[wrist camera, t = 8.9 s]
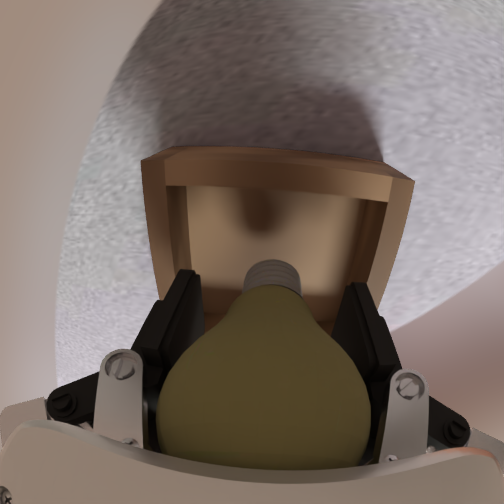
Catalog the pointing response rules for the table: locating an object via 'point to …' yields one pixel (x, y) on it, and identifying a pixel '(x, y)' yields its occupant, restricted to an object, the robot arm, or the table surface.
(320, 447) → the light bulb
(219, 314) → the open wooden box
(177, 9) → the table surface
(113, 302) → the table surface
